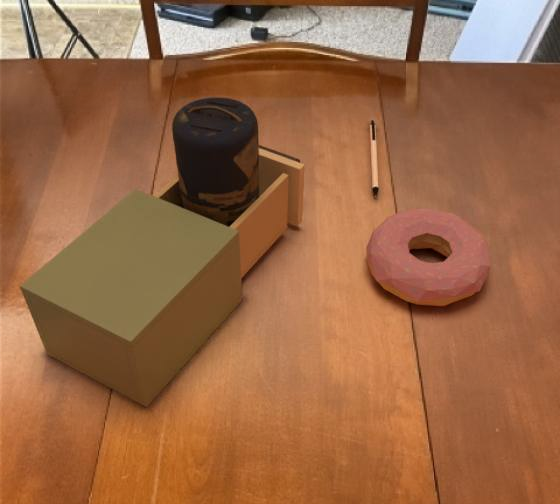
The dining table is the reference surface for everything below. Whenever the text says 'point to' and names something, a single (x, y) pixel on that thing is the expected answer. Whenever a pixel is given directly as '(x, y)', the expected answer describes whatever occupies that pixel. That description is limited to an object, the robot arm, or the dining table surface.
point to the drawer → (262, 204)
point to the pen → (374, 158)
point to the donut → (422, 275)
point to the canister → (217, 158)
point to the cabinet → (137, 294)
